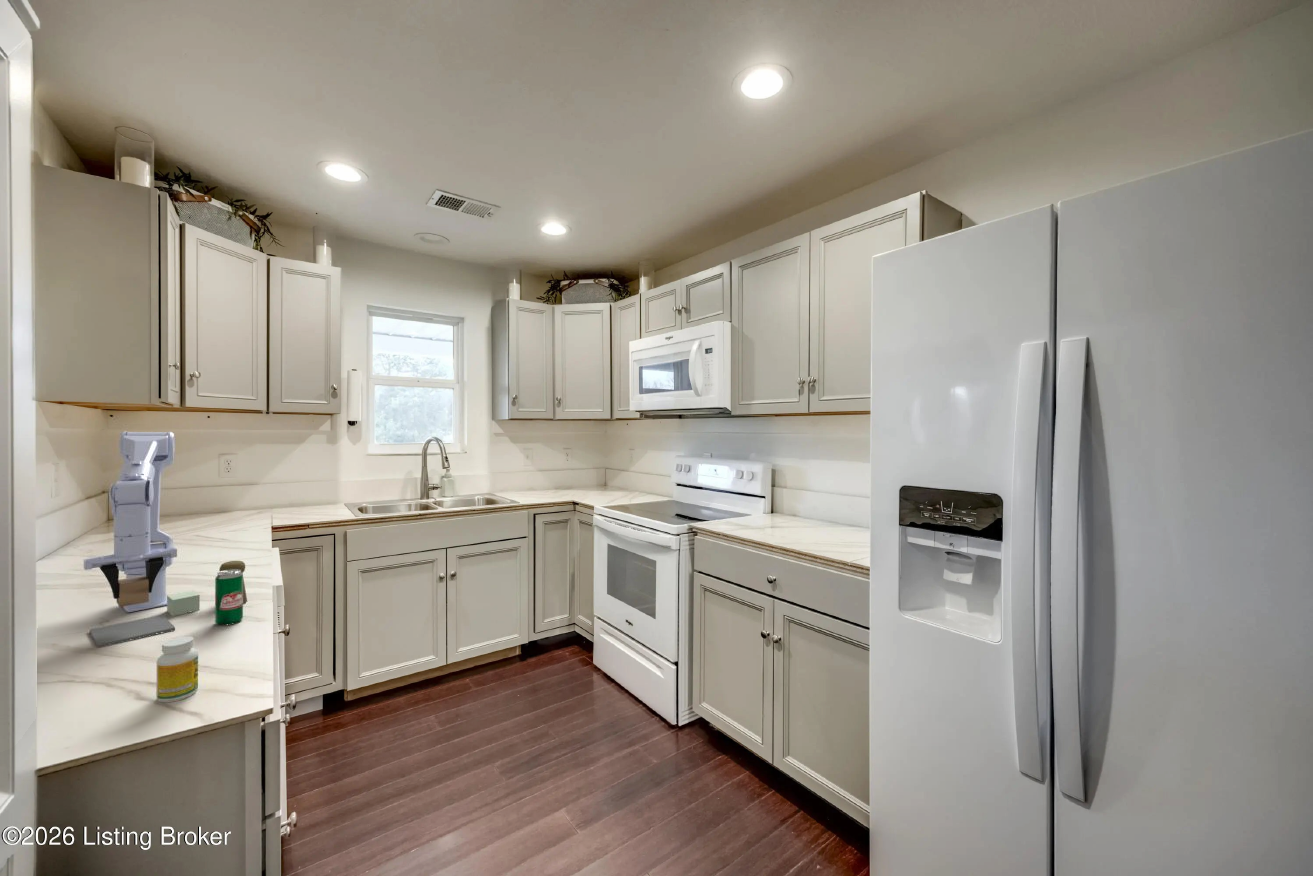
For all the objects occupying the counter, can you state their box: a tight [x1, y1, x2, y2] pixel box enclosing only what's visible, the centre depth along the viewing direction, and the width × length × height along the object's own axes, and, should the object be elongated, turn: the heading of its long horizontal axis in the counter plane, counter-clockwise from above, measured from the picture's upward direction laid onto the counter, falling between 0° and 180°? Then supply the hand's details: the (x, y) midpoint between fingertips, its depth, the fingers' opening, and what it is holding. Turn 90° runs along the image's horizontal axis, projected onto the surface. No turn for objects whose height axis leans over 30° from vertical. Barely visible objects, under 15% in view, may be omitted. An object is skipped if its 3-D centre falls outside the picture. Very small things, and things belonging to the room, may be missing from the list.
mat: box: [89, 614, 176, 648], centre depth 116 cm, size 12×12×1 cm
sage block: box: [166, 590, 201, 616], centre depth 129 cm, size 5×5×4 cm
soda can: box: [214, 569, 244, 626], centre depth 123 cm, size 5×5×12 cm
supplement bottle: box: [155, 636, 199, 703], centre depth 91 cm, size 5×5×10 cm
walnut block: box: [116, 576, 149, 608], centre depth 116 cm, size 4×4×5 cm
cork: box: [218, 560, 248, 605], centre depth 134 cm, size 6×6×11 cm
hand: (132, 594), depth 116 cm, fingers closed on walnut block, 4 cm apart
